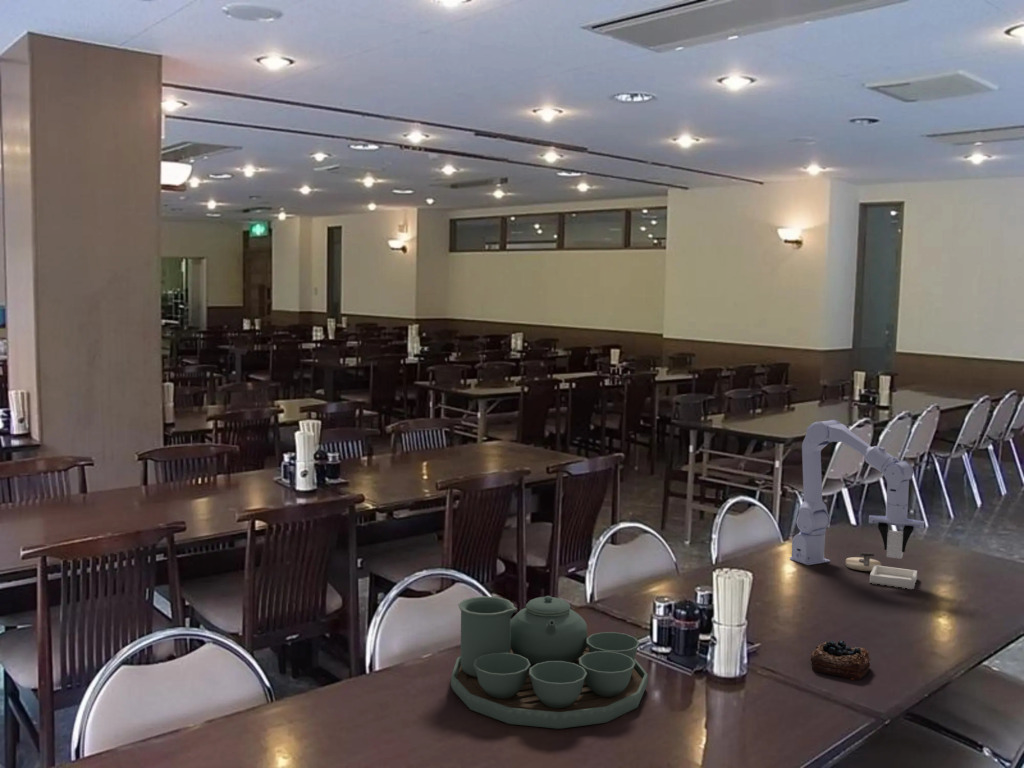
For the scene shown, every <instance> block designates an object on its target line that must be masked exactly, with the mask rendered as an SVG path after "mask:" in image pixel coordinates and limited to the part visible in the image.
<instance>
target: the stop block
mask: <svg viewBox="0 0 1024 768" xmlns="http://www.w3.org/2000/svg"><path fill="white" fill-rule="evenodd" d="M902 545H903V531H900V530H893V529H892V530H891V529H888V536H887V550H886V555H885V556H886V558H891V559H899V560H901V559H903V555H904V552H902Z"/></svg>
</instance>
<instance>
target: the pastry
mask: <svg viewBox="0 0 1024 768" xmlns="http://www.w3.org/2000/svg"><path fill="white" fill-rule="evenodd" d="M815 648H816V649H815V650H813V652H812V653H811V655H810V663H811V668H812V671H813V672H816V673H819V674H823V675H827V676H833V677H836V678H842V679H845V680H846V679H847V680H848V679H849V680H850V681H860V680H862V679H863V678H864V677H865V676H866V675H867V673H868V671H869V670H870V667H871V664H870V661H871V659H870V656H869V655H870V653H869V651H868V650H867V649H865V648H864V647H860V646H859V647H856V646H855V647H850V646H848V645H847V643H846V642H845V641H844V640H839V641H838V642H835V641H833V640H830V641H828V642H823V643H821V644H818V645H816V646H815Z"/></svg>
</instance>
